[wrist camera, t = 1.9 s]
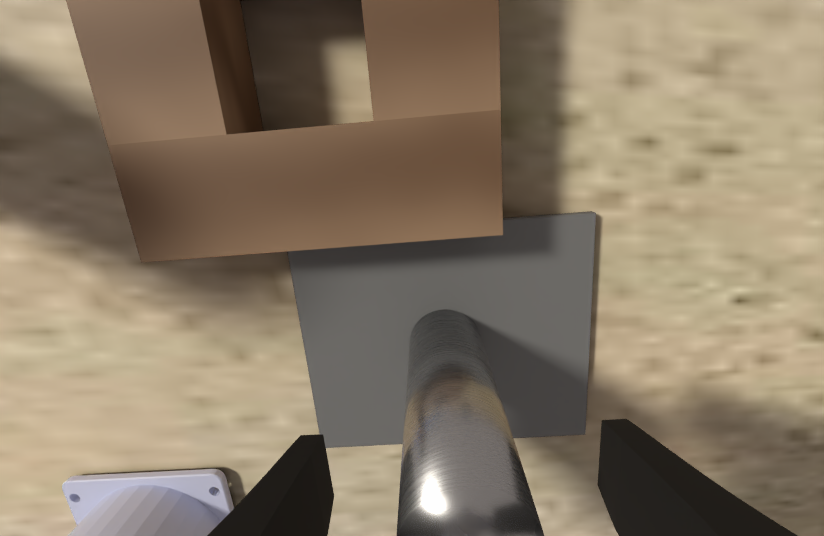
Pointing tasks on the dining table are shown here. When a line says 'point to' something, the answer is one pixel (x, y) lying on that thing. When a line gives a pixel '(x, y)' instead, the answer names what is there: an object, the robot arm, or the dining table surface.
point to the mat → (461, 291)
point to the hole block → (295, 131)
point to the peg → (458, 440)
